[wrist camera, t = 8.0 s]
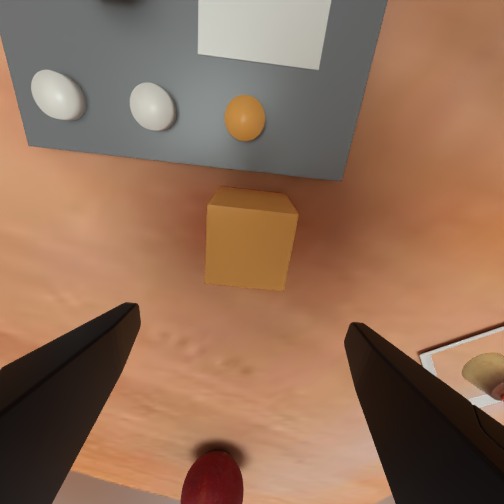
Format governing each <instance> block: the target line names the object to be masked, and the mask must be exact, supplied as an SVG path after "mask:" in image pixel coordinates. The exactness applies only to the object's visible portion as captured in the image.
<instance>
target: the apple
mask: <svg viewBox="0 0 504 504" xmlns="http://www.w3.org/2000/svg"><path fill="white" fill-rule="evenodd" d="M242 502H243V479H242V474H241V471H240V469H239V467H238V465H237V463H236V462H235V460H234V459H233V458H232V457H231V456H230V455H229V454H228V453H227V452H224V451H211V452H208V453H206V454H204V455H203V456H201V457H200V458H199V459H198V460H197V461H196V462H195V463H194V464H193V465H192V466H191V468H190V469H189V471H188V473H187V476H186V478H185V481H184V484H183V488H182V494H181V504H242Z"/></svg>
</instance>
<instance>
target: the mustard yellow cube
mask: <svg viewBox="0 0 504 504" xmlns="http://www.w3.org/2000/svg"><path fill="white" fill-rule="evenodd" d="M298 217H299V214H298V212H297V211H296V209H295V208H294V206H293V205H292V203H291V201H290V200H289V198H288V197H287V195H286V194H285V193H276V192H267V191H259V190H250V189H241V188H232V187H223V186H221V187H220V188H219V189H218V191H217V192H216V193H215V195H214V196H213V197H212V199H211V200H210V201H209V203H208V204H207V225H206V255H205V284H213V285H224V286H234V287H245V288H255V289H265V290H276V291H284V288H285V283H286V278H287V273H288V268H289V263H290V258H291V253H292V247H293V242H294V237H295V232H296V227H297V222H298Z"/></svg>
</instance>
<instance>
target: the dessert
mask: <svg viewBox="0 0 504 504" xmlns="http://www.w3.org/2000/svg"><path fill="white" fill-rule="evenodd" d="M503 330H504V326H503V327H500V328H497V329H494V330H491V331H488V332H485V333H482V334H479V335H476V336H473V337H470V338H467V339H464V340H461V341H458V342H455V343H452V344H449V345H446V346H443V347H440V348H437V349H435V350H432V351H429V352H426V353H423V354H420V359H421V362H422V365H423V367H424V368H425V369H427V370H428V371H429V372H431V373H432V374H433V375H435V376H436V377H437V374H436V371H435V367H434V364H433V361H432V358H431V355H432V354H434V353H437V352H440V351H443V350H446V349H449V348H452V347H455V346H458V345H461V344H464V343H467V342H470V341H473V340H476V339H479V338H482V337H485V336H488V335H491V334H494V333H497V332H500V331H503ZM462 376H463V377H464V378H465V379H466V380H467V381H469V382H470V383H472V384H473V385H475V386H476V387H477V388H479V389H480V390H482V391H483V392H484V393H486V394H485V395H481V396H478V397H474V398H471V399H467V400H469V401H470V402H471V403H472V405H476V406H477V407H478V408H481V407H485V406H488V405H492V404H495V403H499V402H502V401H503V402H504V356H503V355H501V354H499V353H485V354H481V355H478V356H476V357H474V358H473V359H471V360H470V361H468V362H467V363H466V364H465V366H464V367H463V369H462ZM437 378H438V377H437Z"/></svg>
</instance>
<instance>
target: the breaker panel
mask: <svg viewBox="0 0 504 504" xmlns="http://www.w3.org/2000/svg"><path fill="white" fill-rule="evenodd" d="M387 1H388V0H0V35H1V39H2V43H3V47H4V51H5V55H6V59H7V63H8V67H9V71H10V74H11V78H12V82H13V86H14V90H15V94H16V98H17V102H18V106H19V110H20V114H21V118H22V122H23V126H24V129H25V133H26V137H27V141H28V145H29V146H33V147H42V148H51V149H60V150H69V151H77V152H86V153H95V154H104V155H113V156H121V157H130V158H139V159H148V160H157V161H166V162H174V163H183V164H192V165H201V166H210V167H219V168H227V169H236V170H245V171H254V172H263V173H271V174H280V175H289V176H298V177H307V178H316V179H324V180H333V181H342V178H343V174H344V170H345V166H346V162H347V158H348V154H349V150H350V147H351V143H352V139H353V135H354V131H355V127H356V123H357V119H358V115H359V111H360V107H361V103H362V99H363V95H364V91H365V88H366V84H367V80H368V76H369V72H370V68H371V64H372V60H373V56H374V52H375V48H376V44H377V40H378V36H379V33H380V29H381V25H382V21H383V17H384V13H385V9H386V5H387Z"/></svg>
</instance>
